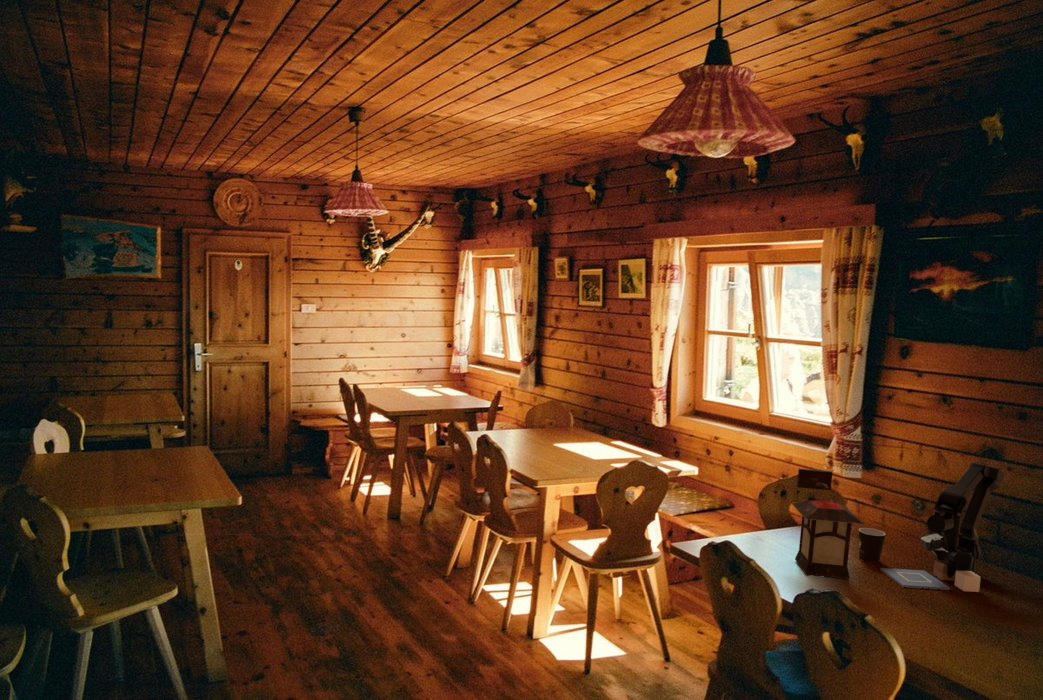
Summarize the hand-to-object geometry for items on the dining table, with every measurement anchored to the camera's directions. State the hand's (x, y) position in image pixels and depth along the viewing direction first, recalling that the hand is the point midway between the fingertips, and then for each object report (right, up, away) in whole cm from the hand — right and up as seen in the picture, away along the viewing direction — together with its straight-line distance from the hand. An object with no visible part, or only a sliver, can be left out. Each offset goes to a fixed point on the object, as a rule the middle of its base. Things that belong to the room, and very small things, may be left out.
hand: (945, 574), depth 260 cm
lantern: (-41, +2, +3) cm, 41 cm away
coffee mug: (-18, +1, +15) cm, 23 cm away
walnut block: (0, -1, 0) cm, 1 cm away
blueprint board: (-12, -1, -4) cm, 13 cm away
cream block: (+2, -2, -9) cm, 9 cm away
